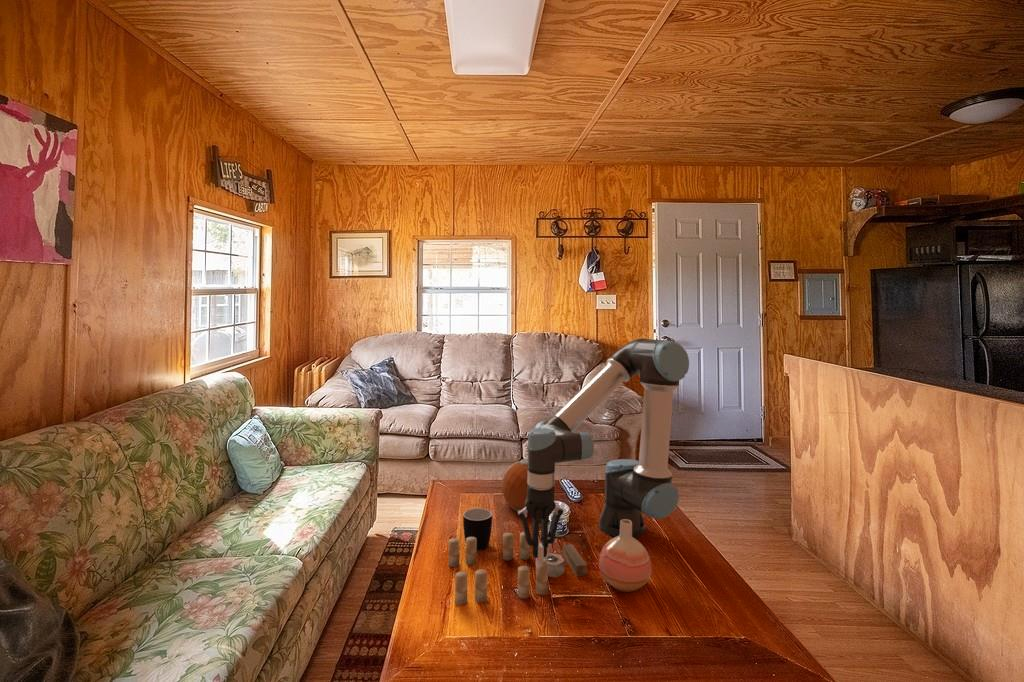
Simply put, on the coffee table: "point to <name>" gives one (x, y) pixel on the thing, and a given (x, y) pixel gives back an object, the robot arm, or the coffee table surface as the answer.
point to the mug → (478, 526)
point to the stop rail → (574, 560)
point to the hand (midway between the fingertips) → (539, 567)
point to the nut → (554, 564)
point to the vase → (625, 560)
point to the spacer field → (482, 574)
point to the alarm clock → (516, 485)
